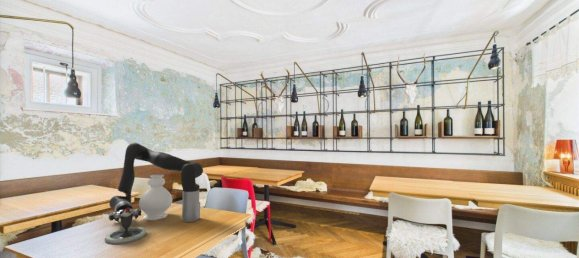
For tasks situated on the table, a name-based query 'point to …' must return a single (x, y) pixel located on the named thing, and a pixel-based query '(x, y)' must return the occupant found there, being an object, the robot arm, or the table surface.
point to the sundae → (126, 221)
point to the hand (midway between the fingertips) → (127, 218)
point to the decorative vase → (155, 199)
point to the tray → (116, 239)
